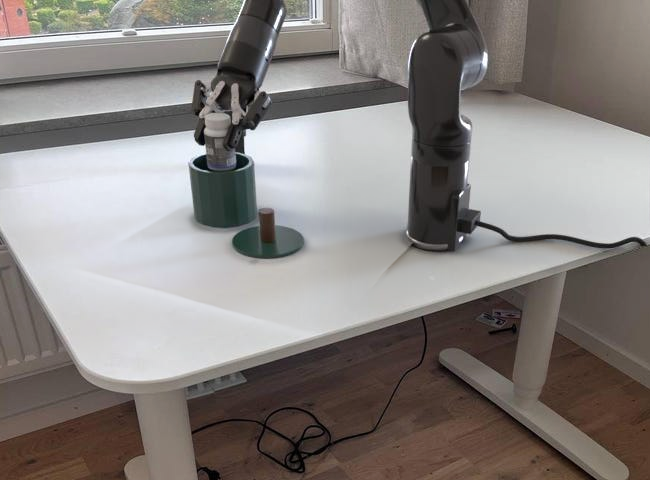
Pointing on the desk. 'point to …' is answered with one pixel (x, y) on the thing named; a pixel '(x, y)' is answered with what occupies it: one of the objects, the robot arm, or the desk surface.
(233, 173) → the tin
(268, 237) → the lid
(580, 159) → the desk surface
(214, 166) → the pill bottle
